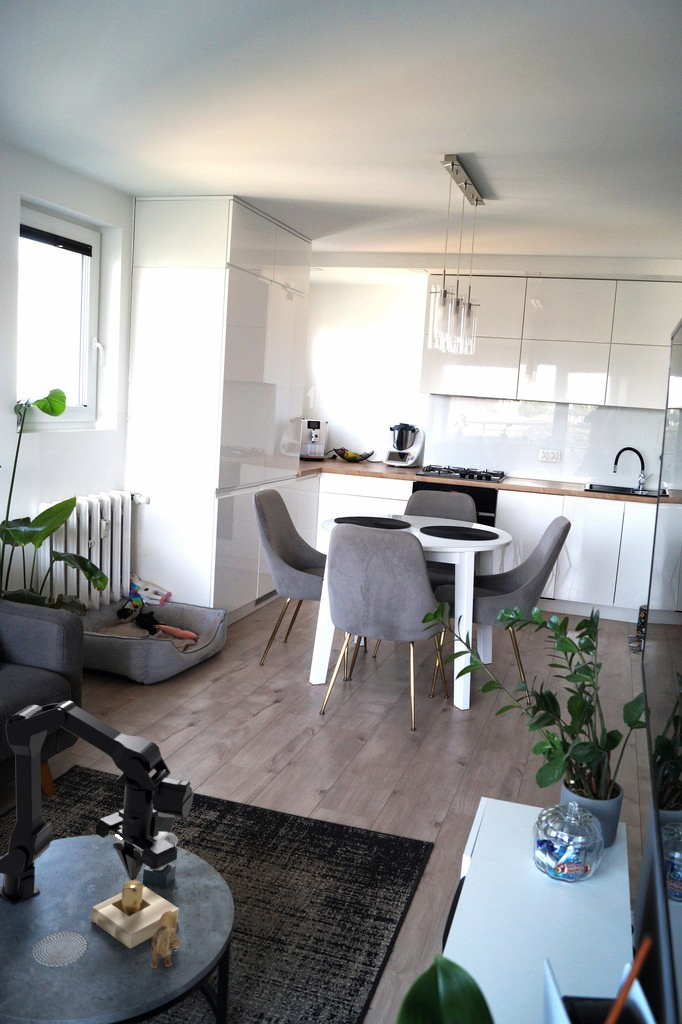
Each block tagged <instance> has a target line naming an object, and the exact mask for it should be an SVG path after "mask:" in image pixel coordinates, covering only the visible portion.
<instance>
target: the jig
mask: <svg viewBox="0 0 682 1024" xmlns="http://www.w3.org/2000/svg"><path fill="white" fill-rule="evenodd" d="M121 903H122V892H120V893H118V894H116V895H115V896H112V897H110V898H108V899H105V900H104V901H102V902H100V903H97V904H96V905H94V906H93V907H92V910H91V911H92V912H91V922H93V923H94V924H95V923H96V924H95V925H97V926H98V927H99V928H101V929H102V930H103V931H105V932H107V933H108V934H109V935H111V936H112V937H113V938H114V939H116V940H118V941H119V942H120V943H121V944H123V945H124V946H126V947H127V948H129V949H133V948H135V947H136V946H138V945H139V944H142V943H144V942H145V941H147V940H149V939H152V938H153V935H154V934H155V932H156V931H157V928H158V926H159V921H160V918H161V916H162V915H163V914H164V913H165V912H168V911H172V912H173V913H175V915H176V919H177V923H178V922H179V912H180V907H177V906H176V905H174V904H172V903H171V902H170V901H168V900H167V899H165V898H163V897H162V896H160V895H159V894H157V893H156V892H155V891H152V889H150V888H148V887H147V886H145V885H143V894H142V907H141V911H139V912H137V913H135V914H133V915H131V916H128V915H126V914H125V913H123V912H122V911H121Z"/></svg>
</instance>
